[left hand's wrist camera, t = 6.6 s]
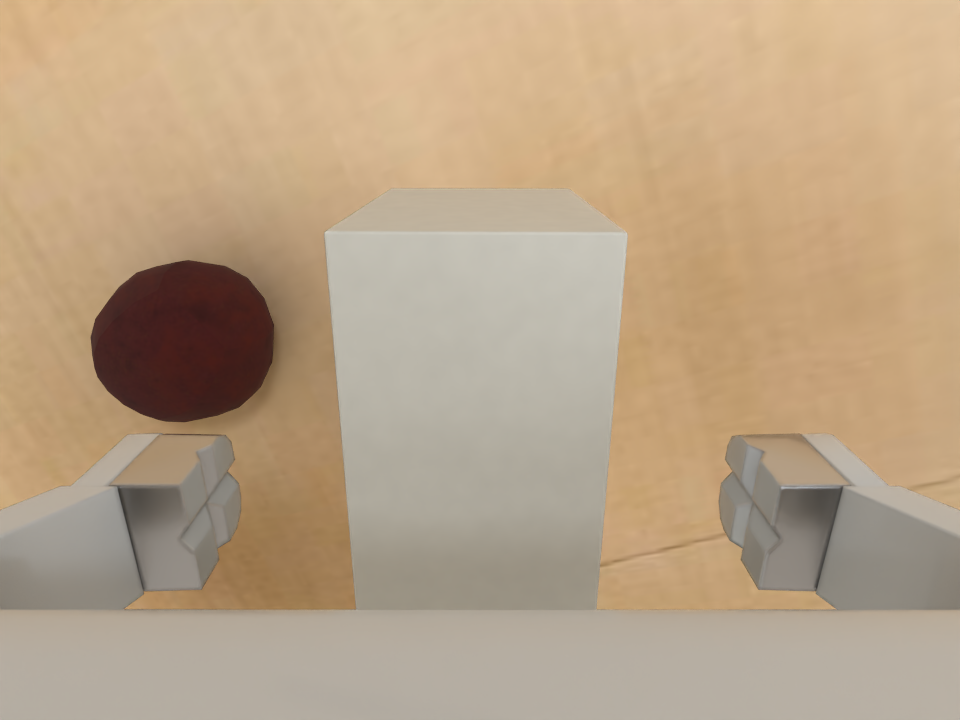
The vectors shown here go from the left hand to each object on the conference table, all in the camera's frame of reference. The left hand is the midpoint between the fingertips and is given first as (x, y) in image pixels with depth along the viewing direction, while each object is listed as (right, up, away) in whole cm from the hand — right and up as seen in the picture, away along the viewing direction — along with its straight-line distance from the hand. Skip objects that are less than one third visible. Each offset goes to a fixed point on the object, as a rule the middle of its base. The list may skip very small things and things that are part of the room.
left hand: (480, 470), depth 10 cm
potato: (-13, +4, +22) cm, 26 cm away
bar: (0, -6, +13) cm, 15 cm away
